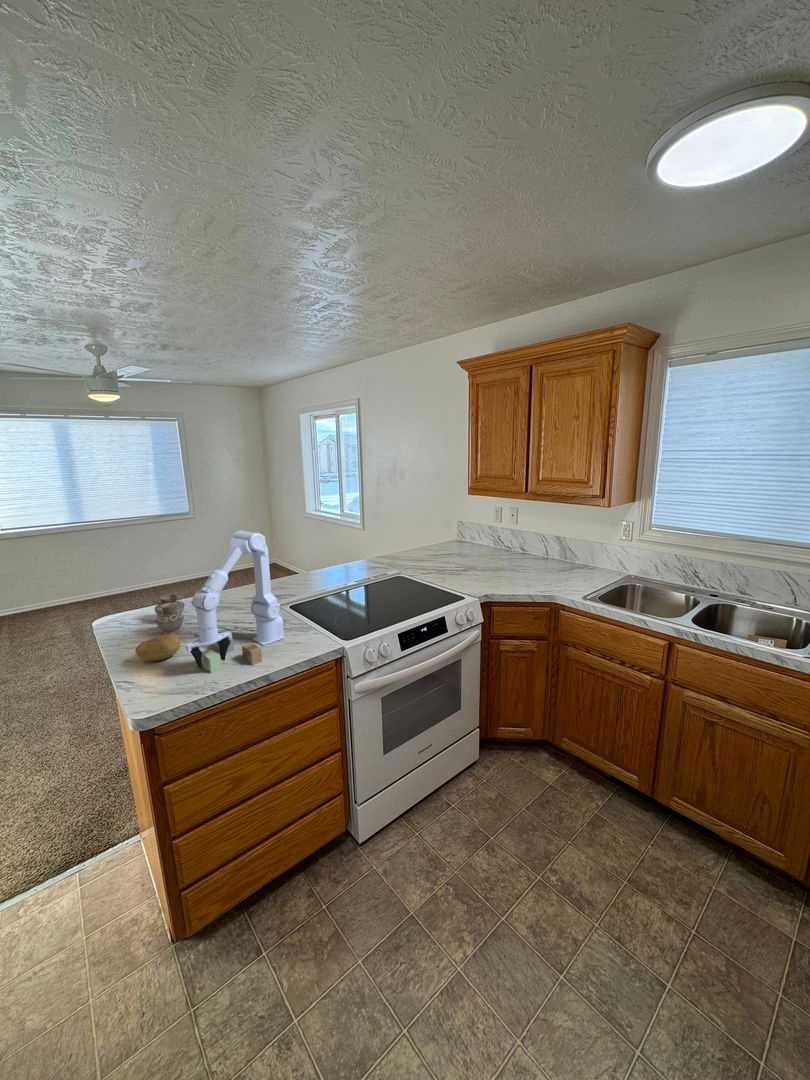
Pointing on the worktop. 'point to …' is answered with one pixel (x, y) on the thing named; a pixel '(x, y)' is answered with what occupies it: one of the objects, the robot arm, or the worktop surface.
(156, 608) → the pottery
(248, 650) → the walnut brick
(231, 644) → the slate brick
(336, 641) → the worktop surface
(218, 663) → the green brick
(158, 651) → the potato
